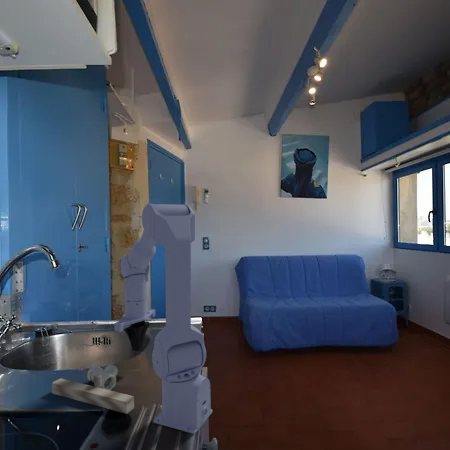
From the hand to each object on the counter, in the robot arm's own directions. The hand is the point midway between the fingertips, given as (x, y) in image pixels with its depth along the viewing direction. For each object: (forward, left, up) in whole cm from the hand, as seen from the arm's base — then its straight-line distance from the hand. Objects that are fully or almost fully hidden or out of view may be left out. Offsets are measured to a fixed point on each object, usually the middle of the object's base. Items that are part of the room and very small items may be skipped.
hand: (136, 349), depth 89 cm
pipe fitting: (+3, +8, -6) cm, 11 cm away
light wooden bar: (0, +15, -6) cm, 16 cm away
